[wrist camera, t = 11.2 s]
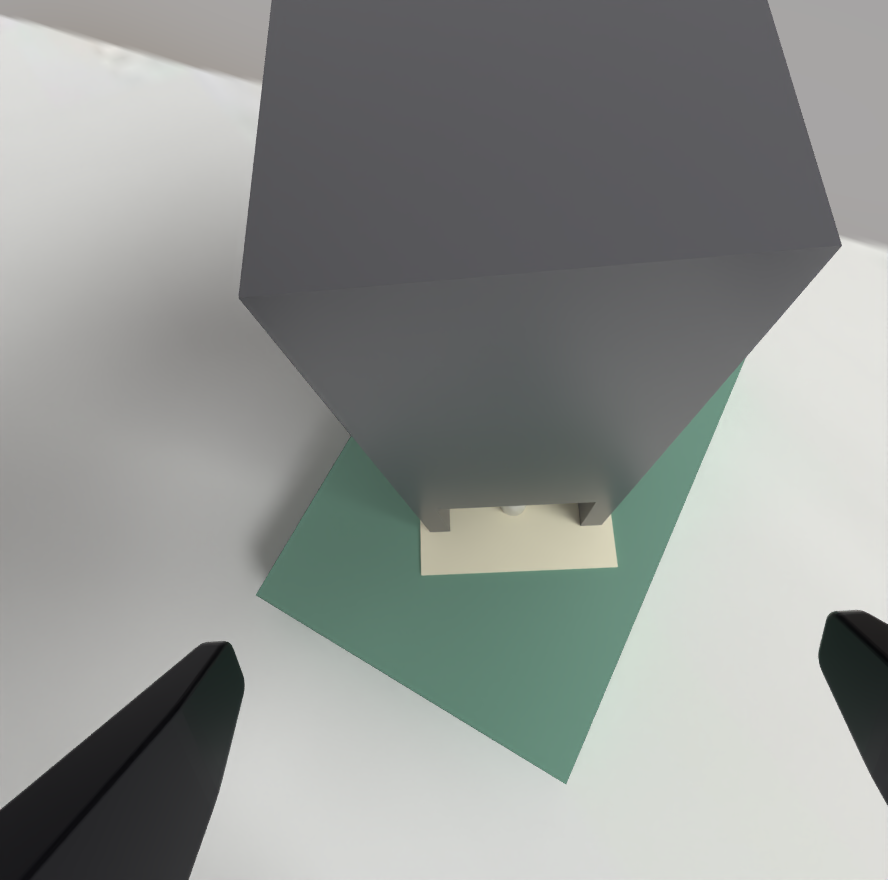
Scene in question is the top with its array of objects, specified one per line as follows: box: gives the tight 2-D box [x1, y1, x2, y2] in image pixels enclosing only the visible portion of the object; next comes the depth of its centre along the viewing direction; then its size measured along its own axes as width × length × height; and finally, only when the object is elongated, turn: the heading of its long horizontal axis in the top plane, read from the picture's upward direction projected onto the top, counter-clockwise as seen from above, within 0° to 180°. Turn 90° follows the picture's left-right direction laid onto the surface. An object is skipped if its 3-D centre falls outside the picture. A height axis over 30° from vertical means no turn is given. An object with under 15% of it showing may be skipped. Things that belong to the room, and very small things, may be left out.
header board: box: [256, 359, 745, 784], centre depth 17 cm, size 14×10×4 cm
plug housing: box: [239, 0, 842, 532], centre depth 11 cm, size 4×5×12 cm
